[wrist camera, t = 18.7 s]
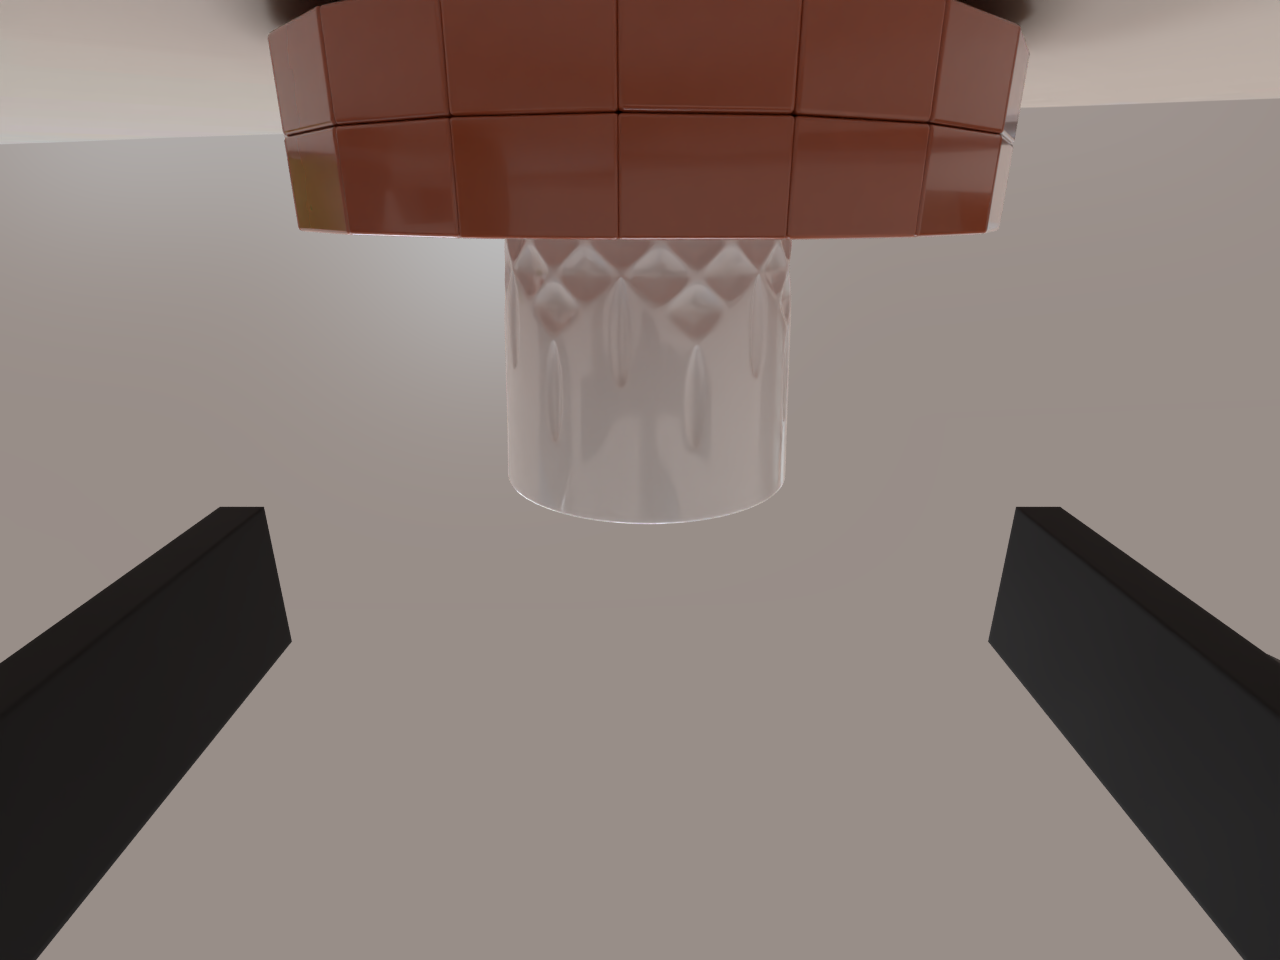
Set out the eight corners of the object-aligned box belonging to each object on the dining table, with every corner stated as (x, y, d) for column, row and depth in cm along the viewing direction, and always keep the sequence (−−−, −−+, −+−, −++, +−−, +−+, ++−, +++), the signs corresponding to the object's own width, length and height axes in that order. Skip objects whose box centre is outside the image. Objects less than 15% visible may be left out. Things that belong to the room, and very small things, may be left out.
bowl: (568, 107, 27) (571, 218, 28) (86, 13, 14) (138, 228, 15) (1050, 69, 19) (1021, 224, 21) (981, -214, 6) (917, 253, 8)
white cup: (889, 53, 14) (839, 505, 18) (735, 103, 21) (721, 420, 25) (498, 26, 12) (529, 542, 16) (469, 92, 19) (495, 439, 23)
